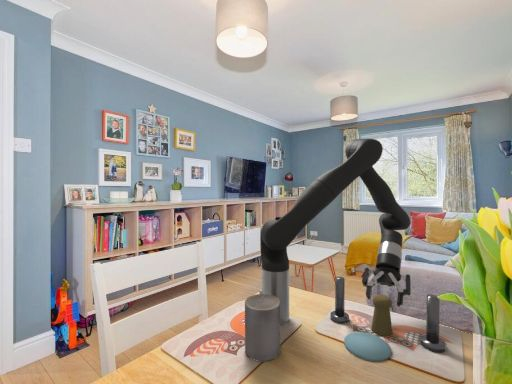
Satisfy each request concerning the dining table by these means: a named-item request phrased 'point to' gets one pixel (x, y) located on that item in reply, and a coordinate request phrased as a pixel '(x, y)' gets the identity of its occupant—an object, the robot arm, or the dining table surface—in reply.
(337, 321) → the gap posts
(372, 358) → the teal mat
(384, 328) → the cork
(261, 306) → the pillar candle
